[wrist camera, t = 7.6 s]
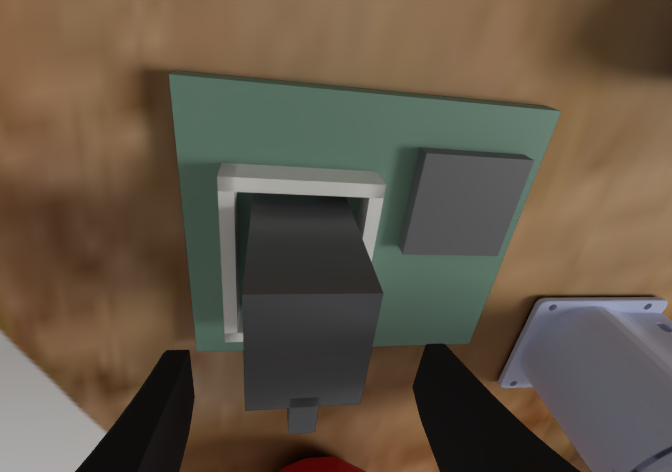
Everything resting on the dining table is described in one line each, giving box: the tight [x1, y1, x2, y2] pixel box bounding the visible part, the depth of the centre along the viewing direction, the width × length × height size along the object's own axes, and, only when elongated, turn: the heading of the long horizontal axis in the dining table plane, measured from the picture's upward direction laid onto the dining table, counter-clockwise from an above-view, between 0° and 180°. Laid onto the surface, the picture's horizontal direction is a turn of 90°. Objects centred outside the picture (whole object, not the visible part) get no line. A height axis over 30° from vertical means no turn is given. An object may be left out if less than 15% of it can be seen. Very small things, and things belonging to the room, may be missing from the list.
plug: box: [242, 193, 384, 434], centre depth 15 cm, size 4×6×7 cm, turn 174°
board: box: [169, 71, 561, 352], centre depth 18 cm, size 16×14×2 cm
